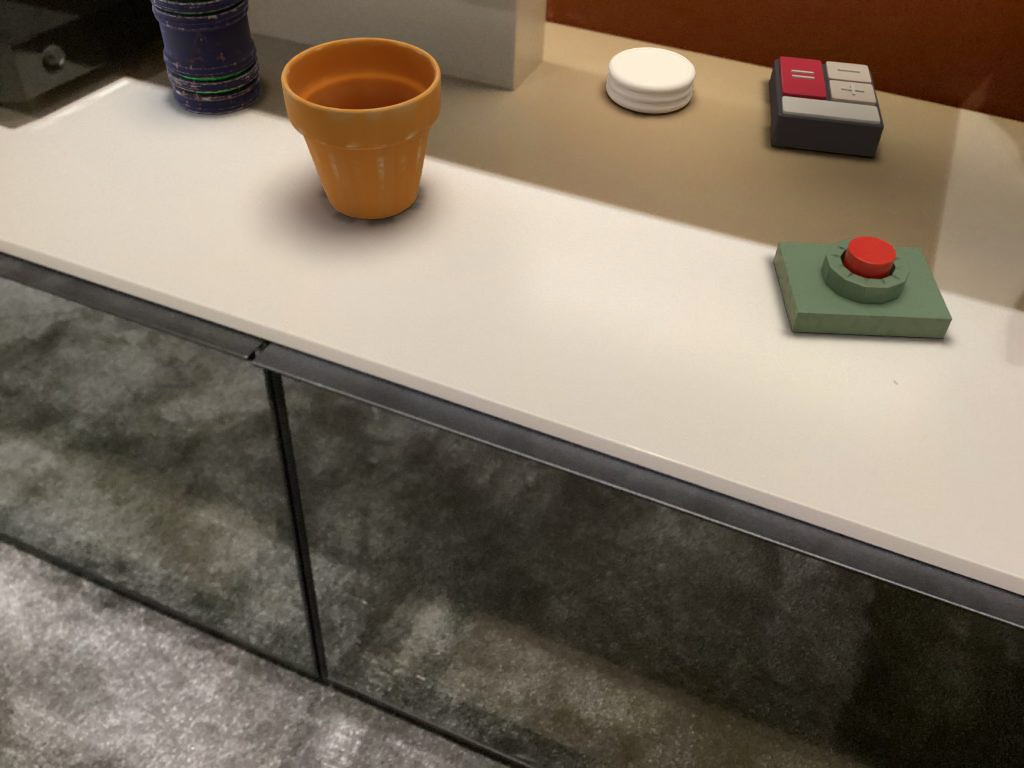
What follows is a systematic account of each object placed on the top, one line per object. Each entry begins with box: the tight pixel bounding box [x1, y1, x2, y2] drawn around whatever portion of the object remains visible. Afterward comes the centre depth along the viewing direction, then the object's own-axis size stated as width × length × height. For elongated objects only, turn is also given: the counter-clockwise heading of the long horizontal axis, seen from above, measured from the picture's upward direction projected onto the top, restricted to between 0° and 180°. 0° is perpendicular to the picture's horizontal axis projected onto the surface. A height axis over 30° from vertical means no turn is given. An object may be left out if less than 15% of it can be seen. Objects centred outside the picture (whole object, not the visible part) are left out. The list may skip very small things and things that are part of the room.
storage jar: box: [150, 0, 263, 115], centre depth 104 cm, size 10×10×15 cm
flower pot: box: [280, 37, 442, 220], centre depth 91 cm, size 14×14×13 cm
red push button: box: [843, 235, 896, 279], centre depth 83 cm, size 4×4×2 cm
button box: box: [773, 238, 953, 339], centre depth 85 cm, size 13×10×4 cm
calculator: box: [769, 55, 885, 158], centre depth 107 cm, size 11×4×15 cm
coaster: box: [605, 46, 697, 115], centre depth 110 cm, size 10×10×4 cm
